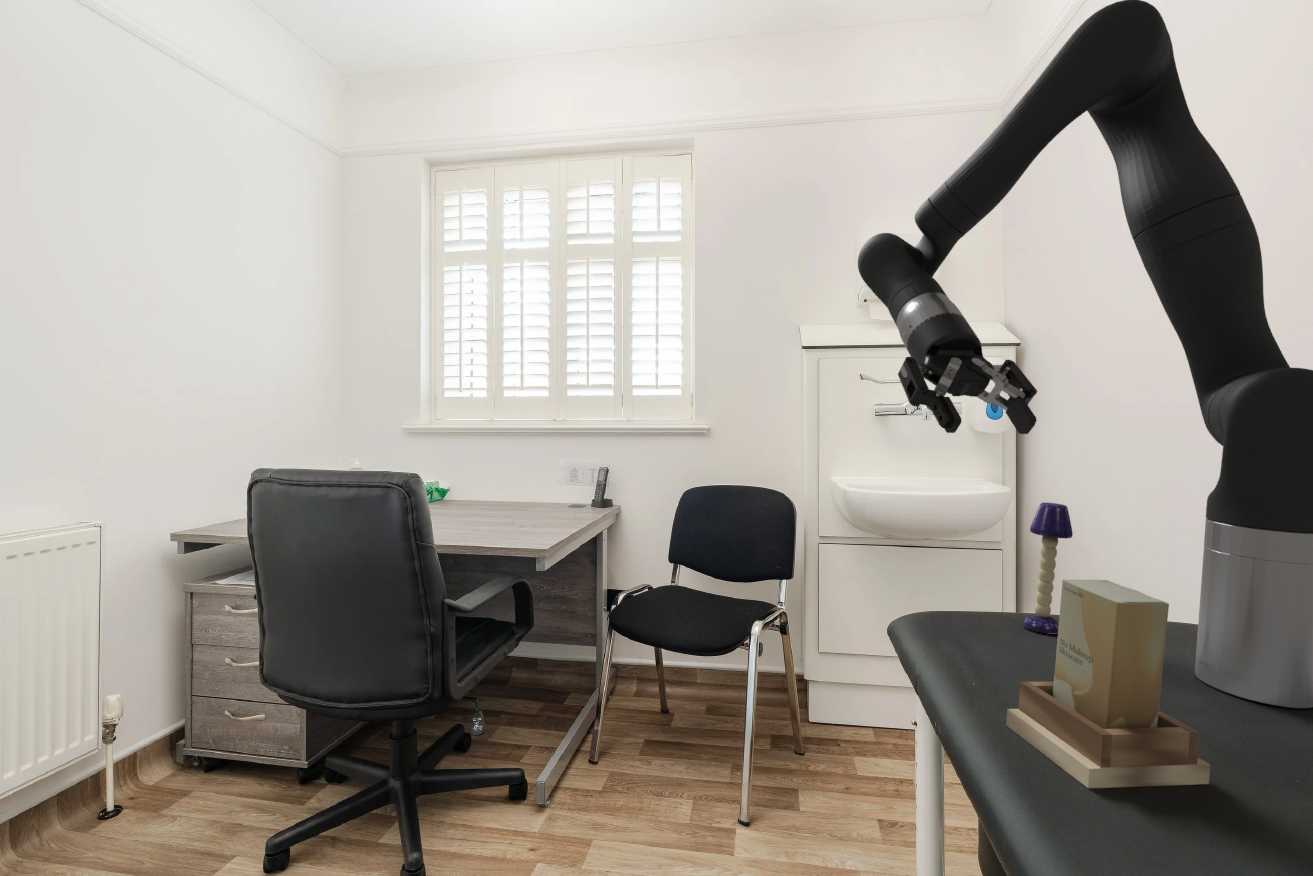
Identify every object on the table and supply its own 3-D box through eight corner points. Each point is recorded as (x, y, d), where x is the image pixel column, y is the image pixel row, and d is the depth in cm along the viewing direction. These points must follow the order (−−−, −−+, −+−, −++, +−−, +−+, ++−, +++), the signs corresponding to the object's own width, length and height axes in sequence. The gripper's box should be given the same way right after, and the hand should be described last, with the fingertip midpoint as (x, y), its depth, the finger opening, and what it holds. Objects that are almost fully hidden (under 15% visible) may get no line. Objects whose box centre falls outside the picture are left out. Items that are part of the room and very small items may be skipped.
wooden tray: (1108, 722, 55) (1111, 679, 55) (1209, 784, 46) (1212, 732, 46) (1006, 725, 54) (1008, 681, 54) (1088, 788, 45) (1091, 736, 45)
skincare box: (1048, 714, 53) (1056, 577, 52) (1095, 714, 53) (1104, 577, 53) (1108, 756, 47) (1118, 600, 46) (1161, 756, 47) (1171, 601, 46)
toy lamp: (1053, 624, 81) (1060, 501, 80) (1074, 637, 76) (1082, 507, 76) (1016, 622, 81) (1023, 500, 81) (1034, 635, 77) (1042, 505, 76)
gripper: (893, 309, 73) (945, 402, 62) (1003, 313, 74) (1073, 404, 63) (872, 357, 78) (916, 450, 67) (975, 360, 80) (1034, 452, 69)
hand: (992, 428), depth 65 cm, fingers open, 8 cm apart
